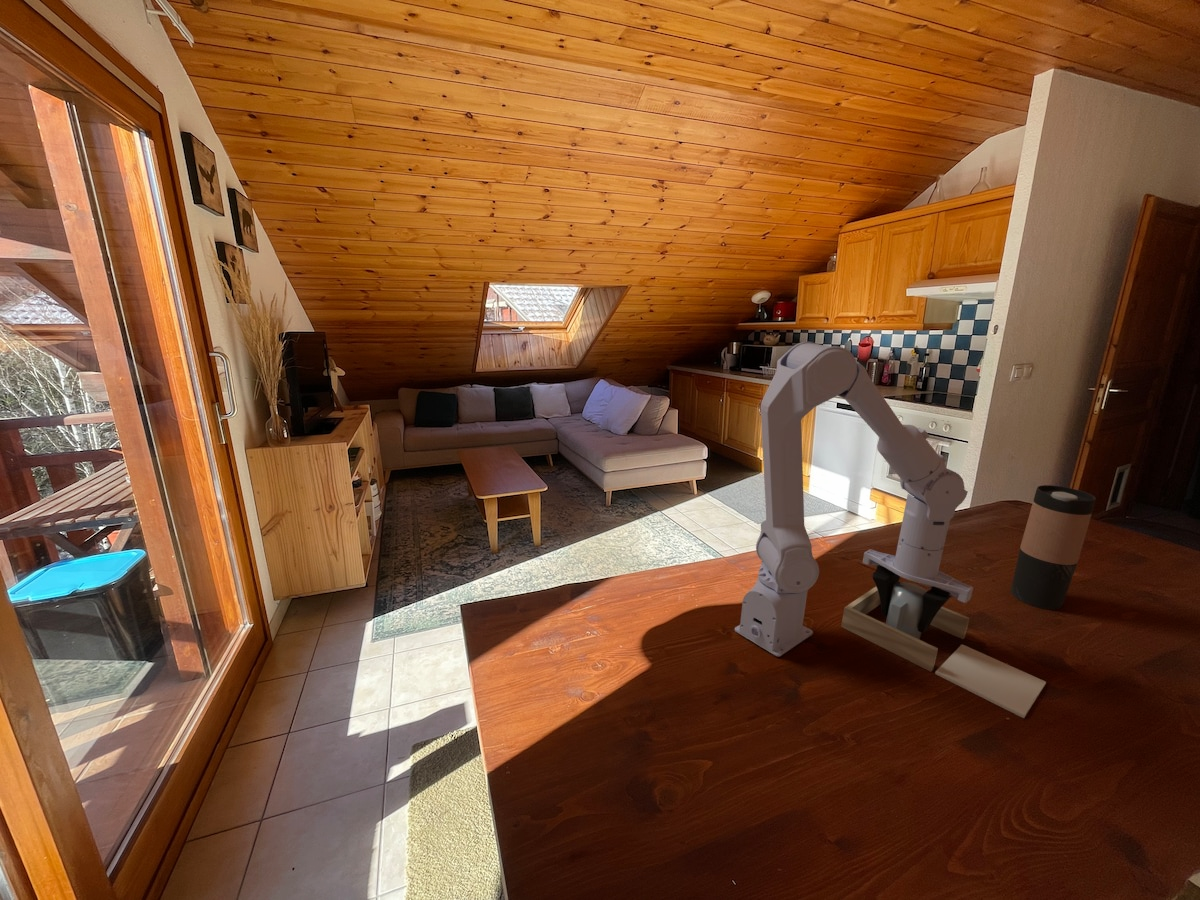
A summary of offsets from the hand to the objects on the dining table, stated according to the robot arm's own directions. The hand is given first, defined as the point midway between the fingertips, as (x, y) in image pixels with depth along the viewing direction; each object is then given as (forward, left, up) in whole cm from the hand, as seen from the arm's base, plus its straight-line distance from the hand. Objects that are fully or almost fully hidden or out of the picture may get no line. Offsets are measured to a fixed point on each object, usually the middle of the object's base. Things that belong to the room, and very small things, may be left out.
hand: (904, 621), depth 80 cm
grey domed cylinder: (-1, 0, -2) cm, 2 cm away
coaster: (-2, -12, -2) cm, 12 cm away
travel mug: (+30, -10, -2) cm, 32 cm away
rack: (0, 0, -2) cm, 2 cm away
